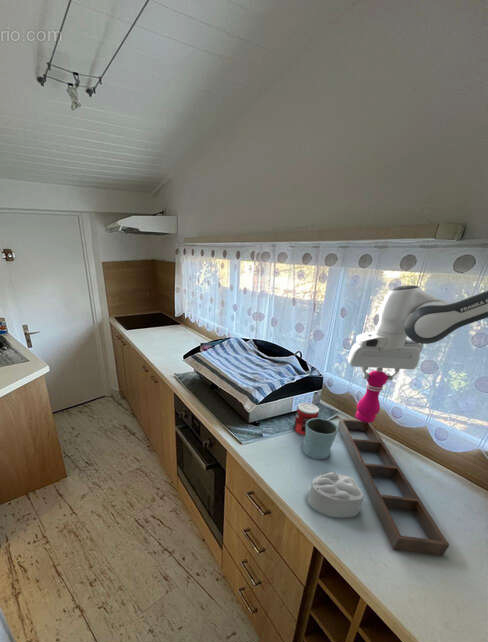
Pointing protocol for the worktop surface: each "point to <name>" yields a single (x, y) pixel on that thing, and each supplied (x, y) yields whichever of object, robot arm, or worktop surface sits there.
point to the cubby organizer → (382, 503)
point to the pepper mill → (371, 397)
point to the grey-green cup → (319, 437)
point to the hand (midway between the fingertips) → (376, 379)
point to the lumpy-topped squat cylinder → (335, 495)
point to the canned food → (304, 416)
